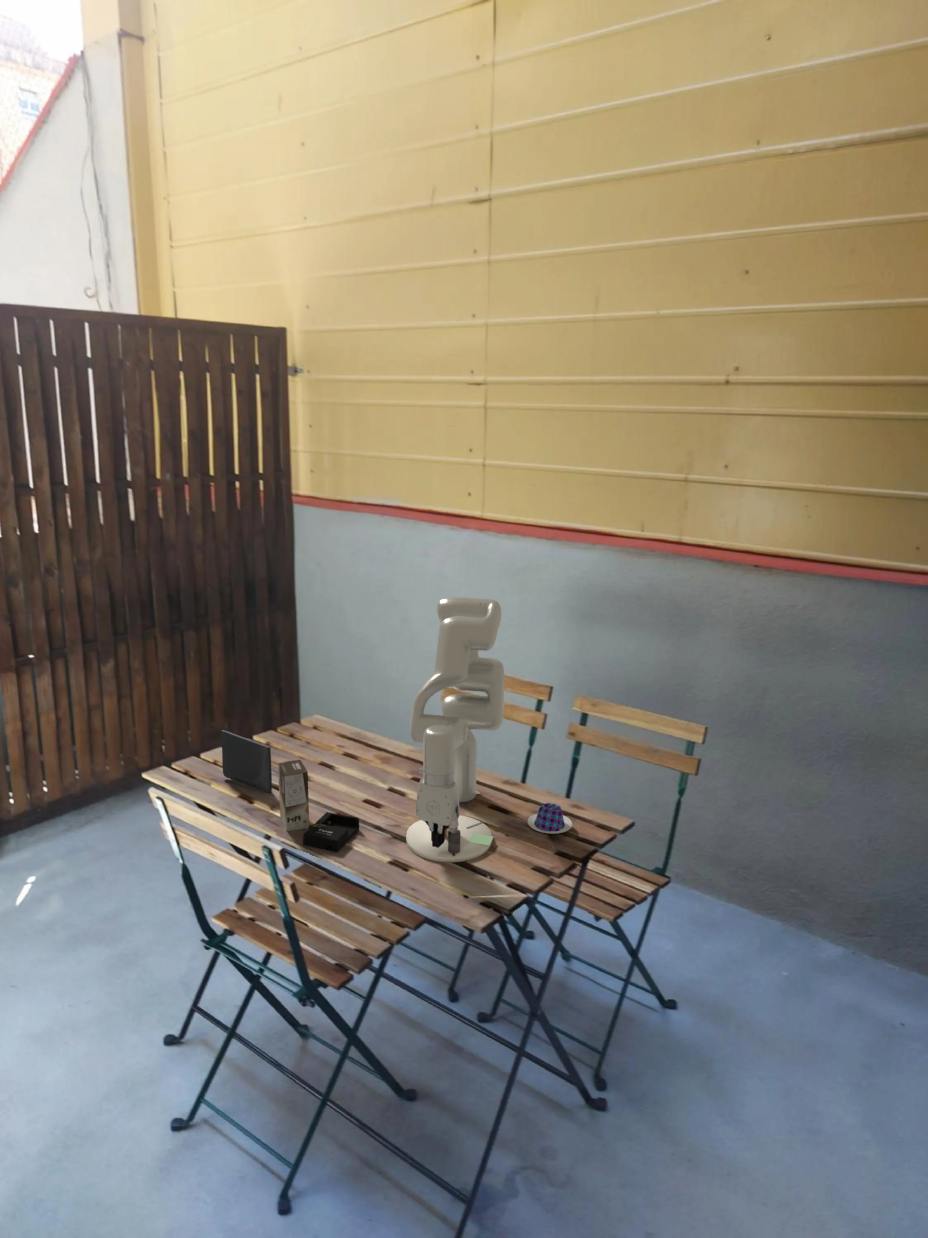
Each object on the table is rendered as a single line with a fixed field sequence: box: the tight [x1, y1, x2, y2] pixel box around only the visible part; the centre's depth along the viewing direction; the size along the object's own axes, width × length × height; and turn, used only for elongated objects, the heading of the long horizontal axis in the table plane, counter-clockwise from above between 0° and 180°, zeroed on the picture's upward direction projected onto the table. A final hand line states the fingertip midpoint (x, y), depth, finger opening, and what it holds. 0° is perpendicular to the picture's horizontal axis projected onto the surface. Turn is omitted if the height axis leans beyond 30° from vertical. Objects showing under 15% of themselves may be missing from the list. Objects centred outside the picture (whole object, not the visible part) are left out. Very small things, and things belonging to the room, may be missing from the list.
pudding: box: [527, 802, 573, 834], centre depth 223 cm, size 12×12×5 cm
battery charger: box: [302, 811, 360, 853], centre depth 213 cm, size 13×10×4 cm
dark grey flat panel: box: [221, 729, 273, 794], centre depth 241 cm, size 20×2×15 cm, turn 57°
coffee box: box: [277, 759, 310, 832], centre depth 219 cm, size 9×6×16 cm
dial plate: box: [405, 814, 495, 863], centre depth 214 cm, size 22×22×2 cm
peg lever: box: [445, 827, 460, 853], centre depth 209 cm, size 13×4×5 cm, turn 9°
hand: (437, 844), depth 205 cm, fingers closed
